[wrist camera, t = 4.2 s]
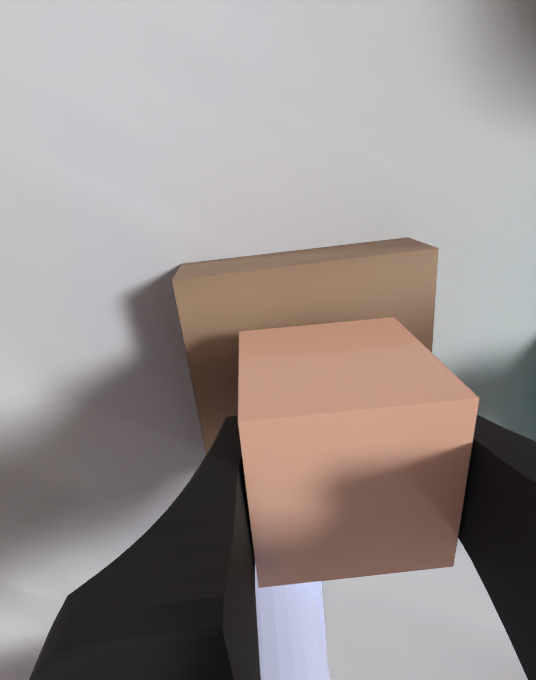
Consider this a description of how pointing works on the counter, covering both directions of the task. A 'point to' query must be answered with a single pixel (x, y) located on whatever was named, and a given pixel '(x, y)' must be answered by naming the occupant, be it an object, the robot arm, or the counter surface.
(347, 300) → the slab
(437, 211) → the counter surface
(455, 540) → the cube
